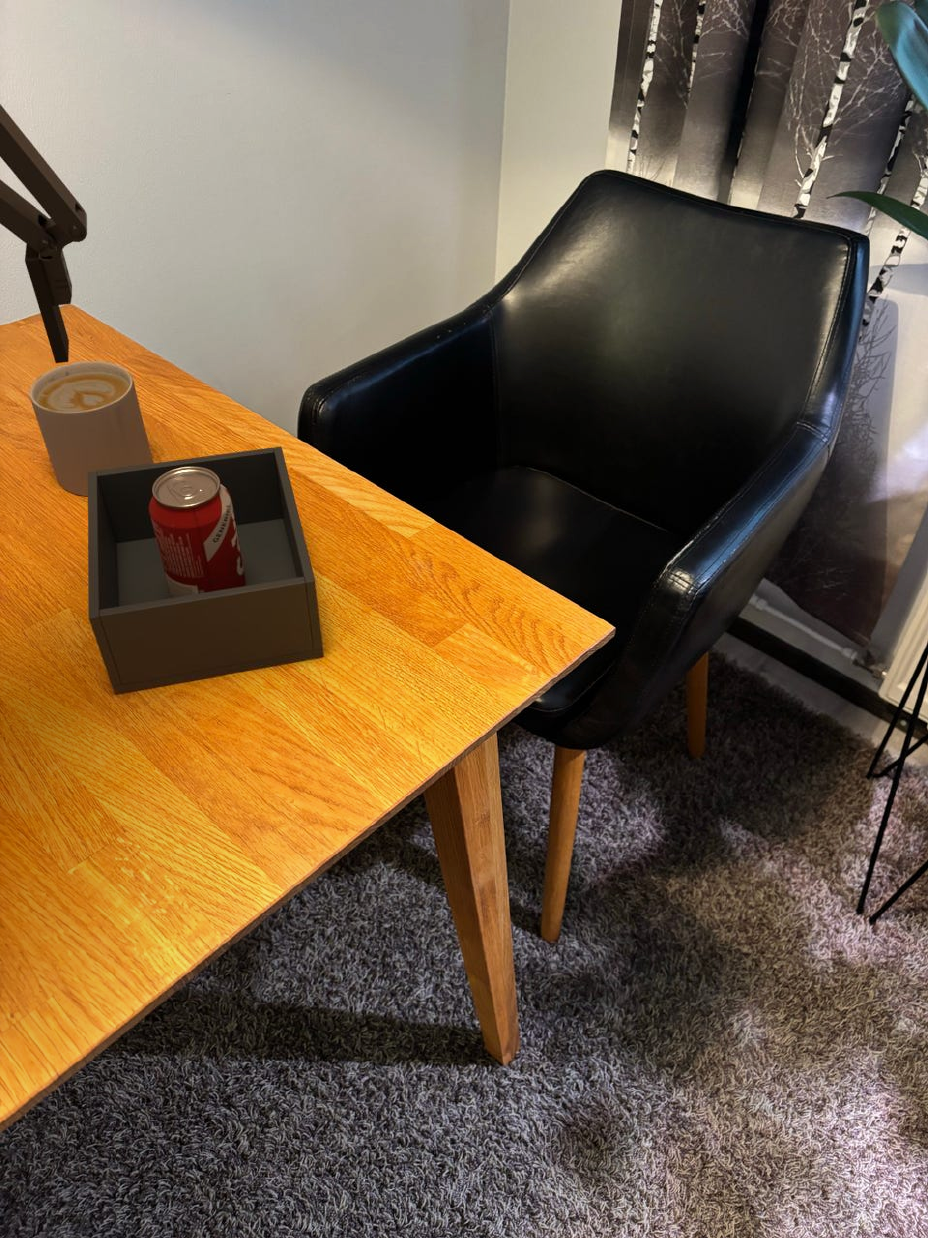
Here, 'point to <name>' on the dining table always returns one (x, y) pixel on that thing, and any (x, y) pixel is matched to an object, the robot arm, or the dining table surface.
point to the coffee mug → (89, 421)
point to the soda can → (196, 532)
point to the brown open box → (207, 622)
